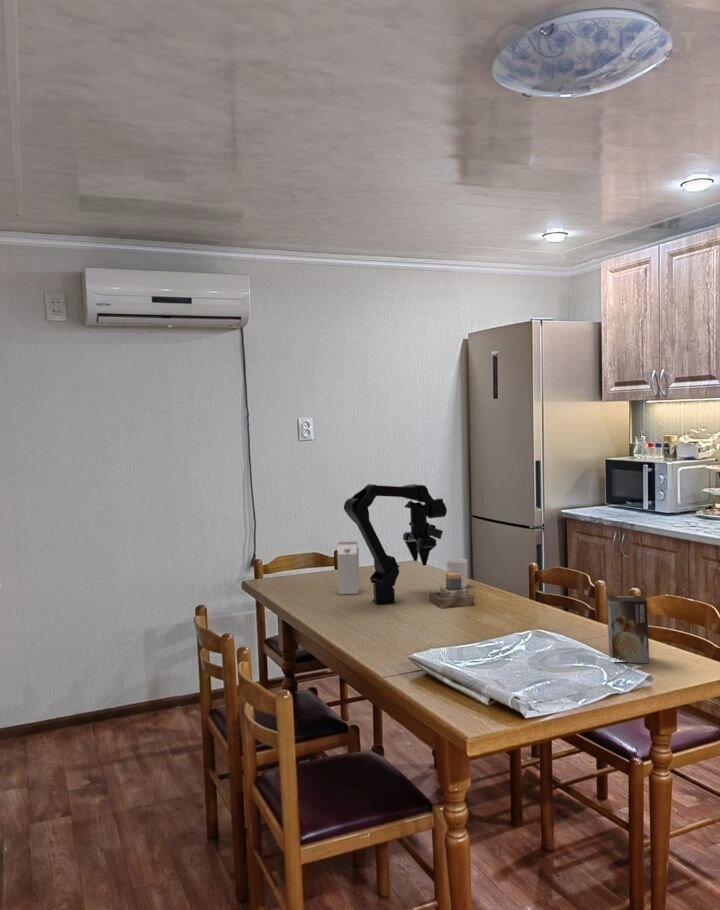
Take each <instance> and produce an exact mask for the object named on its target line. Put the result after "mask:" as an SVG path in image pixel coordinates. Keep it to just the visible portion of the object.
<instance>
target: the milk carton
mask: <svg viewBox="0 0 720 910" xmlns="http://www.w3.org/2000/svg"><path fill="white" fill-rule="evenodd" d="M337 544H338V545H337V578H338V579H337V580H338V595H358V594H359V593H360V589H361V583H360V582H361V581H360V556H359V552H360V551H359V546H358V541H355V540H354V541H338V542H337Z"/></svg>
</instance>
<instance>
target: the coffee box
mask: <svg viewBox="0 0 720 910" xmlns="http://www.w3.org/2000/svg"><path fill="white" fill-rule="evenodd" d="M606 601H607V602H606V603H607V607H606V608H607V631H608V632H607V635H608V636H607V637H608V638H607V639H608V656H609V657H610V656H611V657H612V658H616V659H619V660H622V661H625V662H628V663H627V664H650V646H649V645H650V644H649V622H648V621H649V618H648V617H649V616H648V600H647V599H646V598H645V597H644V596H643V595H631V594H630V595H624V594H623V595H622V594H618V595H616V594H615V595H610V594H609V595H606Z"/></svg>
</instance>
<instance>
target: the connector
mask: <svg viewBox="0 0 720 910" xmlns="http://www.w3.org/2000/svg"><path fill="white" fill-rule="evenodd" d="M445 587H446V589H447V590H449V591H453V590H462V588H461V574H459V573H457V572H456V573H447V572H446V573H445Z"/></svg>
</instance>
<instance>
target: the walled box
mask: <svg viewBox="0 0 720 910" xmlns="http://www.w3.org/2000/svg"><path fill="white" fill-rule="evenodd" d="M461 588H462V590H453V591H449V590H447V589H446V586H440V587H439V591H435V592H429V593H428V594H429V597H428V598H429V599H428V600H429V603H431V604H433V605H435V606H437V608H439V609H449V608H458V607H460V608H461V607H469V606H475V596H474V595H473V594H471V593H470V592H469V589H468V588H467V587H466V588H464V587H462V586H461Z"/></svg>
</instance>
